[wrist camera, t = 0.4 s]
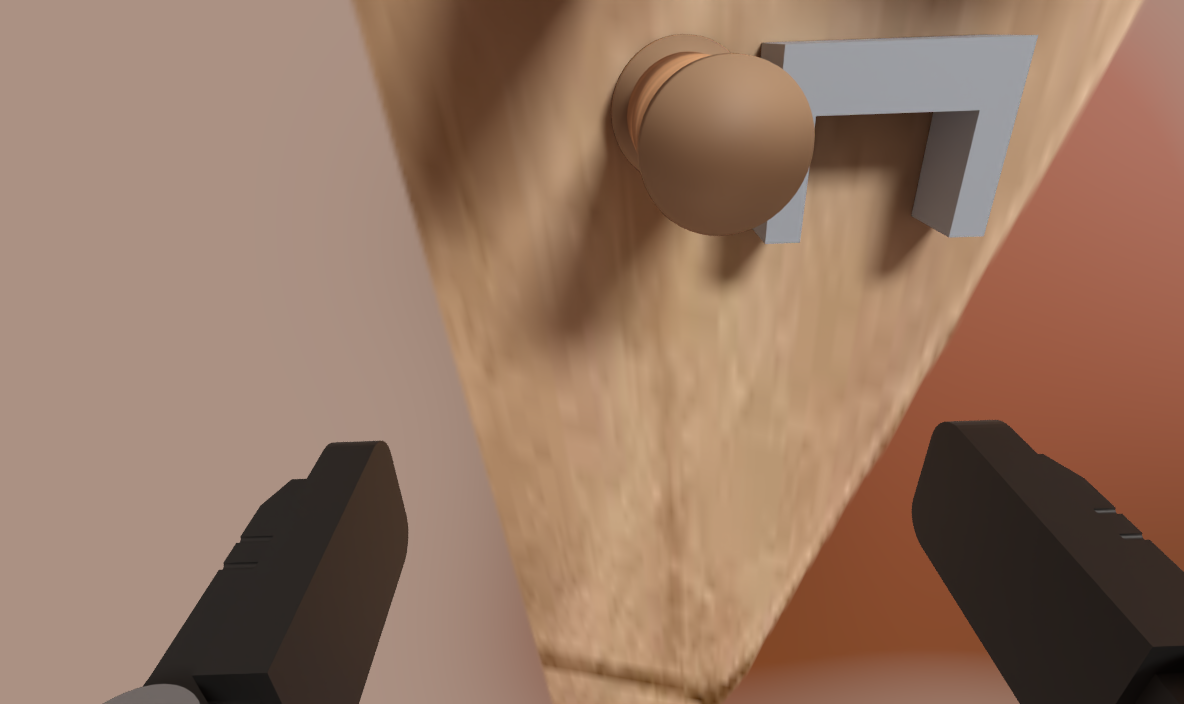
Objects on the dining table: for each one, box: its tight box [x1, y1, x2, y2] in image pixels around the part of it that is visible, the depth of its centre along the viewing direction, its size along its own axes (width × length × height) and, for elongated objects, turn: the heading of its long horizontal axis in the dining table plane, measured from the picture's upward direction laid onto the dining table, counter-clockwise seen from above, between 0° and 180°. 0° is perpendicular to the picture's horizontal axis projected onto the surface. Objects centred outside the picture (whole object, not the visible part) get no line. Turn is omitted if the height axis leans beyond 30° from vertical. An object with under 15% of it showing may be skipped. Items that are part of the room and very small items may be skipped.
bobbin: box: [611, 34, 815, 236], centre depth 26 cm, size 7×7×12 cm
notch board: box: [753, 35, 1038, 244], centre depth 31 cm, size 9×11×4 cm
